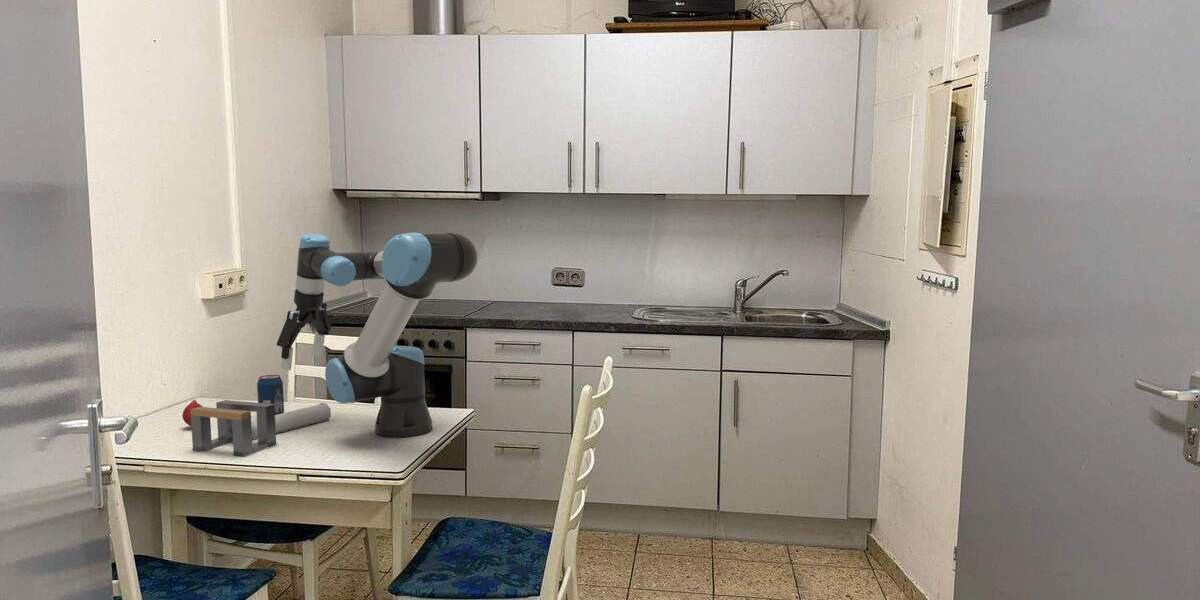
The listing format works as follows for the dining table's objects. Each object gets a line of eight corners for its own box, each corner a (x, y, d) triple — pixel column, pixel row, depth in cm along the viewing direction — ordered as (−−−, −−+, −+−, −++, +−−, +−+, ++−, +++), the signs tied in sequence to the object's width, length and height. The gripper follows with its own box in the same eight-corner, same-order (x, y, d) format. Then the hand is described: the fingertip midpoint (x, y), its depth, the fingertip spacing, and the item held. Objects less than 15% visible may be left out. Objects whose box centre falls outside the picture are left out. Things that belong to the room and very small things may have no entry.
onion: (180, 431, 216) (178, 402, 215) (187, 426, 222) (185, 397, 221) (203, 430, 217) (201, 401, 216) (209, 424, 223) (207, 396, 222)
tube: (254, 427, 204) (332, 407, 226) (241, 418, 207) (320, 399, 228) (251, 445, 206) (329, 424, 227) (238, 436, 208) (317, 416, 230)
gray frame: (276, 444, 202) (274, 404, 201) (243, 456, 191) (241, 414, 190) (227, 439, 207) (225, 399, 206) (192, 450, 197) (190, 409, 196)
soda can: (263, 414, 235) (261, 374, 234) (287, 413, 235) (285, 374, 234) (254, 420, 228) (252, 379, 227) (279, 419, 228) (277, 378, 227)
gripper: (326, 278, 229) (318, 346, 234) (266, 295, 205) (259, 370, 211) (348, 285, 227) (340, 353, 233) (291, 303, 204) (283, 378, 209)
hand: (302, 361), depth 222 cm, fingers open, 13 cm apart
